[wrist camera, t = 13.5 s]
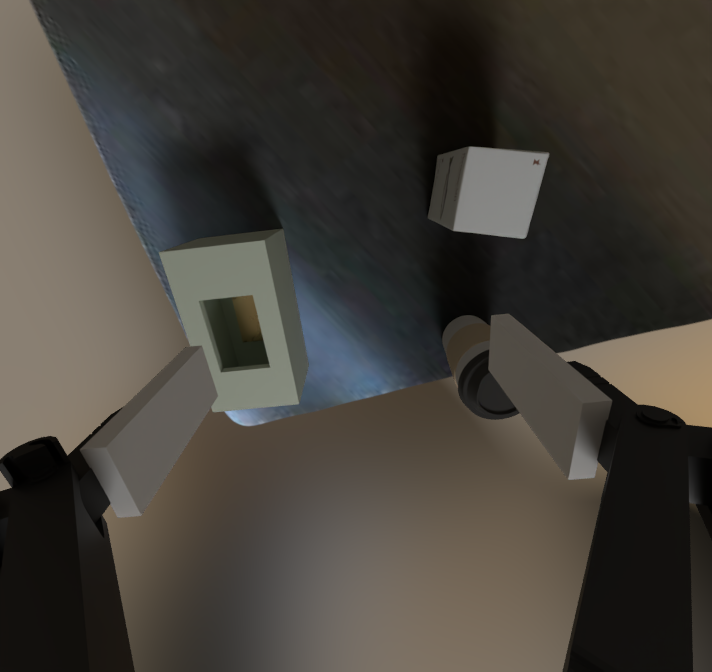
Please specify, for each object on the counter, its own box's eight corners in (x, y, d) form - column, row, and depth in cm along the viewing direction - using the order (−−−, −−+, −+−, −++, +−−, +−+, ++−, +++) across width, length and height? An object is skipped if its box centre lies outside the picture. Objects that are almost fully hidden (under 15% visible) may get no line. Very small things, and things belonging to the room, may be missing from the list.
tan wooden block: (237, 285, 46) (230, 292, 43) (267, 283, 46) (261, 289, 43) (249, 333, 49) (242, 342, 46) (276, 330, 49) (272, 339, 46)
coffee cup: (499, 306, 48) (557, 354, 35) (493, 362, 52) (543, 426, 38) (435, 310, 48) (467, 360, 35) (433, 366, 52) (462, 431, 38)
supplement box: (436, 153, 40) (469, 141, 29) (497, 160, 41) (554, 151, 29) (425, 219, 43) (450, 231, 32) (482, 225, 44) (528, 239, 32)
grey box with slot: (199, 238, 44) (158, 252, 35) (283, 228, 44) (264, 240, 35) (237, 372, 52) (212, 412, 43) (308, 365, 52) (299, 403, 43)
